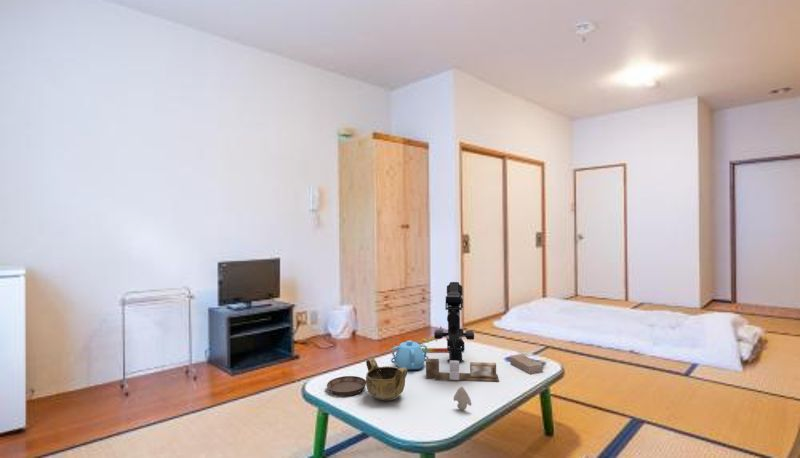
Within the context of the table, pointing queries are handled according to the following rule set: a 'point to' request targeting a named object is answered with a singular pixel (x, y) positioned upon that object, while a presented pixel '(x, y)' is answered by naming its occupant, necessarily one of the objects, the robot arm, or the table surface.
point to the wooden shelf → (434, 373)
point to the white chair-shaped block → (454, 370)
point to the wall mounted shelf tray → (482, 369)
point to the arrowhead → (462, 398)
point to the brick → (526, 364)
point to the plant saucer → (346, 385)
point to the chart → (435, 350)
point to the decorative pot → (409, 355)
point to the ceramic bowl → (384, 380)
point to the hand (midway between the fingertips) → (454, 352)
